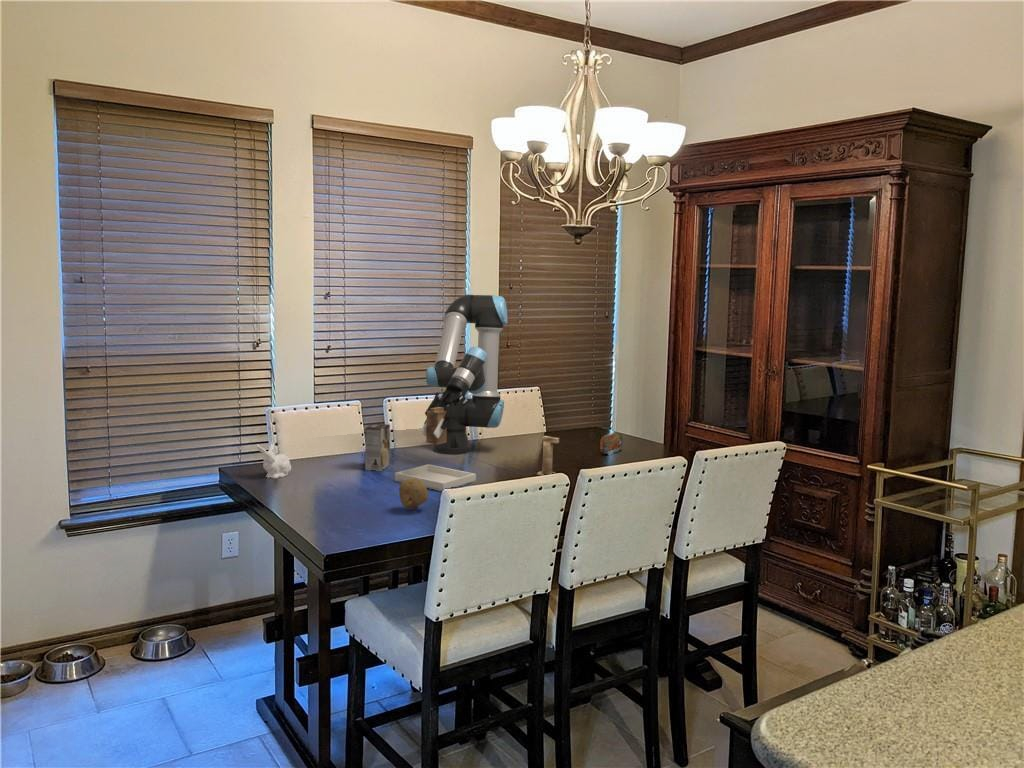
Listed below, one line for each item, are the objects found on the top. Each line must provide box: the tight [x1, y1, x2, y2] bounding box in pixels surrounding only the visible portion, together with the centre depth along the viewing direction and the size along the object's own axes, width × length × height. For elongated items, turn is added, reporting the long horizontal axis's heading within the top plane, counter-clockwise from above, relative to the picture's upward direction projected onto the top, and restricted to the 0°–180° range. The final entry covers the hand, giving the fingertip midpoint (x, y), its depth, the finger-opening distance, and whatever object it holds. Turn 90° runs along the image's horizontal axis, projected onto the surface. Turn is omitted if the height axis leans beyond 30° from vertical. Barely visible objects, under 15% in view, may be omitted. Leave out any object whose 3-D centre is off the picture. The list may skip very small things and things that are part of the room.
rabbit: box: [256, 441, 292, 479], centre depth 288 cm, size 12×9×12 cm
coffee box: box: [364, 423, 391, 472], centre depth 303 cm, size 9×6×16 cm
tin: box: [599, 432, 623, 453], centre depth 344 cm, size 15×3×8 cm, turn 143°
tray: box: [394, 463, 477, 493], centre depth 287 cm, size 22×18×3 cm
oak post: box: [537, 435, 560, 475], centre depth 300 cm, size 8×7×15 cm
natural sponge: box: [398, 478, 429, 511], centre depth 252 cm, size 9×9×10 cm
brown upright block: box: [425, 407, 447, 445], centre depth 284 cm, size 5×5×12 cm
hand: (429, 434), depth 282 cm, fingers closed on brown upright block, 5 cm apart
